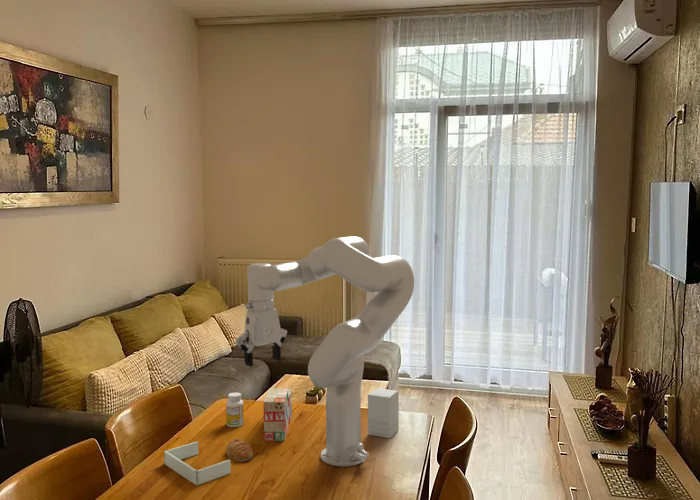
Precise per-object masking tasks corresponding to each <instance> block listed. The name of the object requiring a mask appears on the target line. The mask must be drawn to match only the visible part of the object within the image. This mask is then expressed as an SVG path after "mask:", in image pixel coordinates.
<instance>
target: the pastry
mask: <svg viewBox="0 0 700 500" xmlns="http://www.w3.org/2000/svg"><path fill="white" fill-rule="evenodd" d="M225 453H226V456H228V458H229V459H232V460H233V461H235V462H240V463H244V462H245V461H250V460H252V458H253V457H254V454H253V453H254V451H253V448H252V446H251V444H250V442H248V441H247V440H244V439H242V438H234V439H232V440H231V441H229V442H228V443H227V444H226V447H225Z"/></svg>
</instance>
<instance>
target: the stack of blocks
mask: <svg viewBox="0 0 700 500" xmlns="http://www.w3.org/2000/svg"><path fill="white" fill-rule="evenodd" d="M292 402H293V400H292V389H291V388H288V387H287V388H285V387H284V388H280V387H279V388H268V390H267V394H266V395H265V398H264V400H263V442H285V440H286V438H287V435H288V432H289V427H290V424H291V420H292V416H293V415H292V414H293V410H292V408H293V406H292V405H293V403H292Z"/></svg>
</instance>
